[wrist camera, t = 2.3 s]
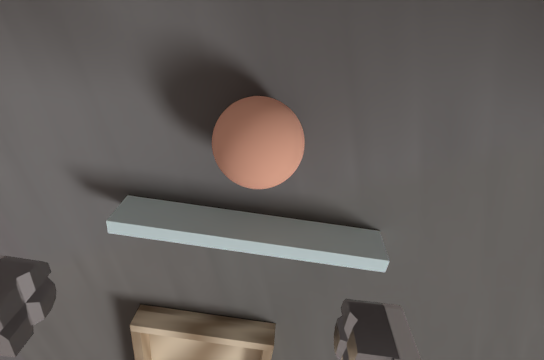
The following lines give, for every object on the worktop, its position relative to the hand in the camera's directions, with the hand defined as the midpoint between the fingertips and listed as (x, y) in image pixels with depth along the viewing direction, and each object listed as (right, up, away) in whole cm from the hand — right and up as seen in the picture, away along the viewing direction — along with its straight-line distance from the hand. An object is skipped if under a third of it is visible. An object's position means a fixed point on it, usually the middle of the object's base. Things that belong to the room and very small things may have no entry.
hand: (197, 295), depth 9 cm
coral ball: (+1, +5, +9) cm, 10 cm away
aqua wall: (+1, 0, +15) cm, 15 cm away
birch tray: (-4, -14, +23) cm, 27 cm away
